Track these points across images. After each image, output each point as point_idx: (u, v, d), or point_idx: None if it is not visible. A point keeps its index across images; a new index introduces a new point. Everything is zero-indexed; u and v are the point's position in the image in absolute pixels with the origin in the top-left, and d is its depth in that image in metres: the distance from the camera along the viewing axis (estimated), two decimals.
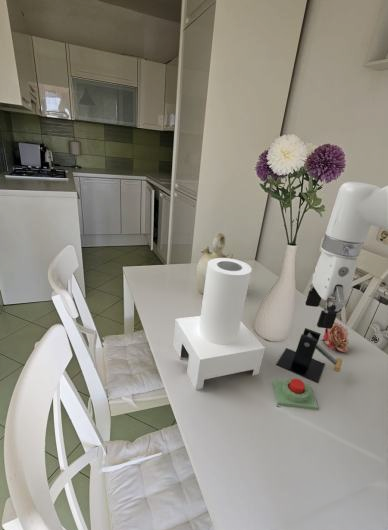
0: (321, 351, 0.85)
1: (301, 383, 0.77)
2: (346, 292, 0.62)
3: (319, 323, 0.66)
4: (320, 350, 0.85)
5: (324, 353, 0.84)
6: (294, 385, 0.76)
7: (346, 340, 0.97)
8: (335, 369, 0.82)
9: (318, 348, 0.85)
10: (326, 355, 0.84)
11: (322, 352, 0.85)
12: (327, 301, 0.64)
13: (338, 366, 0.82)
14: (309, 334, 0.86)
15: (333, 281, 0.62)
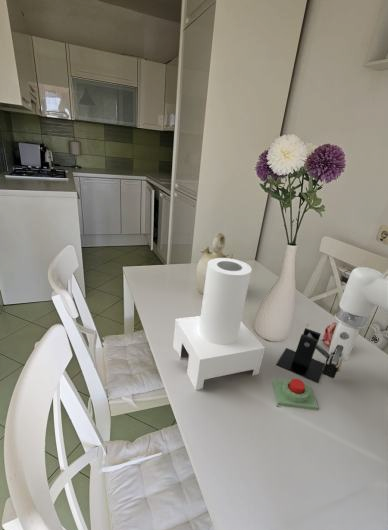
0: (321, 351, 0.85)
1: (301, 383, 0.77)
2: (346, 353, 0.77)
3: (323, 371, 0.84)
4: (320, 350, 0.85)
5: (324, 353, 0.85)
6: (294, 385, 0.76)
7: None
8: None
9: (318, 348, 0.85)
10: (326, 355, 0.84)
11: (322, 352, 0.85)
12: (330, 356, 0.81)
13: None
14: (309, 334, 0.86)
15: (335, 341, 0.77)
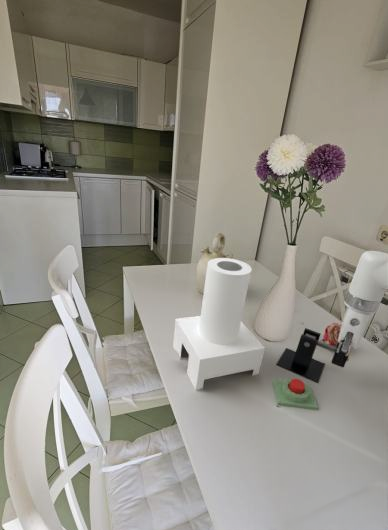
0: (324, 346, 0.84)
1: (301, 383, 0.77)
2: (357, 340, 0.74)
3: (333, 360, 0.81)
4: (323, 346, 0.84)
5: (328, 347, 0.83)
6: (294, 385, 0.76)
7: None
8: None
9: (320, 344, 0.84)
10: (331, 349, 0.83)
11: (326, 347, 0.84)
12: (340, 344, 0.78)
13: None
14: (307, 334, 0.86)
15: (345, 328, 0.75)
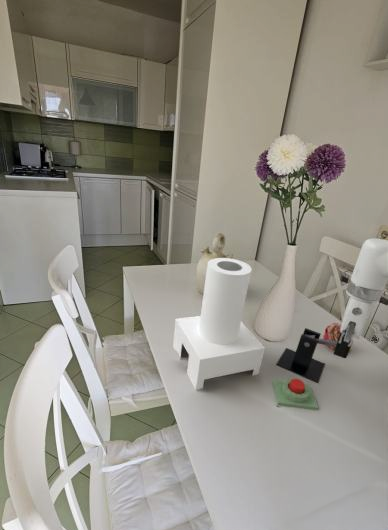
0: (325, 343, 0.83)
1: (301, 383, 0.77)
2: (359, 329, 0.73)
3: (335, 351, 0.80)
4: (324, 342, 0.83)
5: (329, 343, 0.83)
6: (294, 385, 0.76)
7: None
8: None
9: (321, 342, 0.84)
10: (332, 343, 0.82)
11: (327, 343, 0.83)
12: (342, 335, 0.77)
13: None
14: None
15: (347, 318, 0.73)
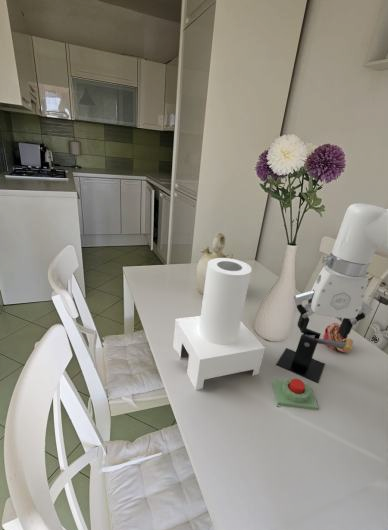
0: (325, 342, 0.83)
1: (301, 383, 0.77)
2: (314, 300, 0.66)
3: None
4: (324, 342, 0.83)
5: (329, 343, 0.83)
6: (294, 385, 0.76)
7: (346, 340, 0.97)
8: (346, 350, 0.79)
9: (321, 342, 0.84)
10: (332, 343, 0.82)
11: (327, 343, 0.83)
12: (307, 304, 0.70)
13: (347, 346, 0.79)
14: None
15: (313, 285, 0.68)
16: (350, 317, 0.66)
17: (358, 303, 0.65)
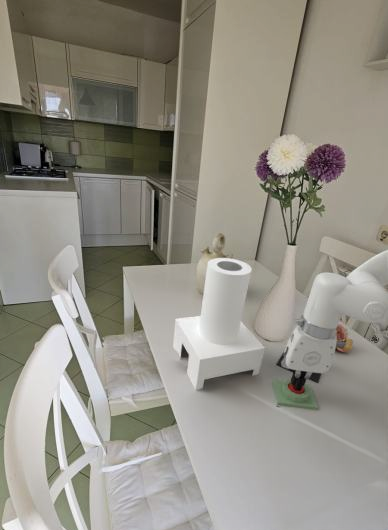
0: None
1: None
2: (288, 356, 0.71)
3: None
4: None
5: None
6: (293, 388, 0.77)
7: (346, 340, 0.97)
8: (346, 350, 0.79)
9: None
10: None
11: None
12: None
13: (347, 346, 0.79)
14: None
15: (288, 341, 0.73)
16: (322, 372, 0.71)
17: (328, 360, 0.70)
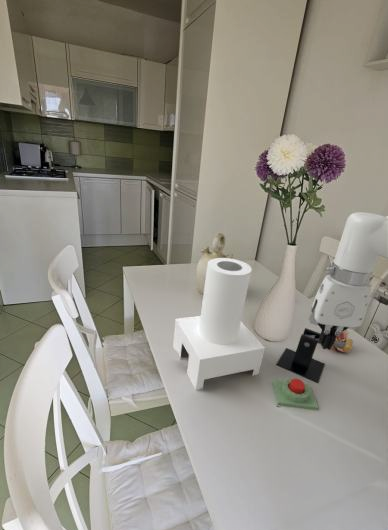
0: None
1: (301, 383, 0.77)
2: (317, 310, 0.65)
3: None
4: None
5: None
6: (294, 385, 0.76)
7: (346, 340, 0.97)
8: (346, 350, 0.79)
9: None
10: None
11: None
12: None
13: (347, 346, 0.79)
14: None
15: (316, 295, 0.67)
16: (354, 326, 0.66)
17: (362, 312, 0.64)
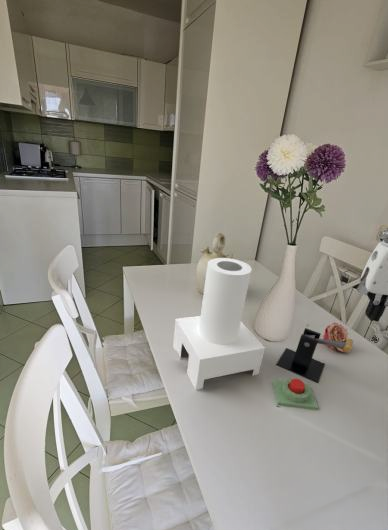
0: (325, 342, 0.83)
1: (301, 383, 0.77)
2: (369, 277, 0.63)
3: None
4: (324, 342, 0.83)
5: (329, 343, 0.83)
6: (294, 385, 0.76)
7: (346, 340, 0.97)
8: (346, 350, 0.79)
9: (321, 342, 0.84)
10: (332, 343, 0.82)
11: (327, 343, 0.83)
12: None
13: (347, 346, 0.79)
14: None
15: (367, 263, 0.65)
16: None
17: None
